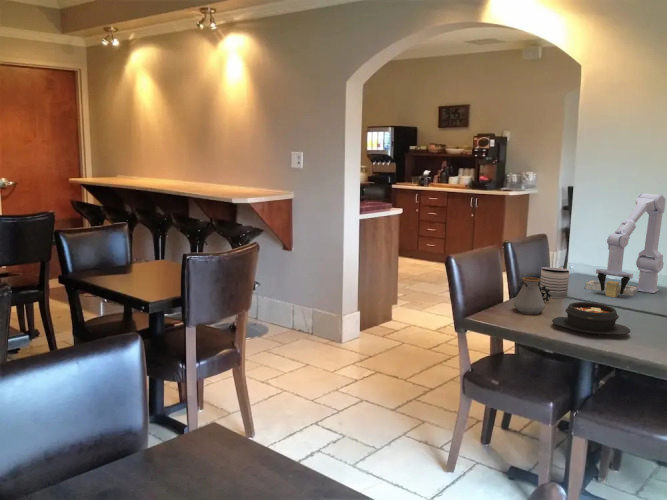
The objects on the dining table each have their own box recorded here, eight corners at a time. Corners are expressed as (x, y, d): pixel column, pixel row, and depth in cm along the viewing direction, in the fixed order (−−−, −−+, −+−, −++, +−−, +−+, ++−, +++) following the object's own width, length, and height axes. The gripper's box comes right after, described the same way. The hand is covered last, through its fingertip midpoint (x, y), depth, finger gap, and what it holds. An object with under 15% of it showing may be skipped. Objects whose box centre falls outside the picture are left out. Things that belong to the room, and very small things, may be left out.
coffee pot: (517, 306, 238) (520, 268, 236) (547, 310, 233) (550, 272, 230) (502, 318, 220) (505, 278, 218) (534, 323, 215) (538, 282, 212)
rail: (590, 285, 280) (591, 280, 279) (637, 292, 267) (638, 287, 267) (584, 288, 273) (585, 283, 272) (632, 296, 260) (633, 290, 260)
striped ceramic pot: (535, 295, 257) (538, 267, 255) (543, 290, 266) (545, 264, 264) (563, 299, 251) (565, 271, 249) (570, 294, 260) (572, 267, 258)
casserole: (548, 332, 205) (550, 308, 204) (554, 318, 222) (557, 296, 220) (629, 344, 195) (632, 319, 193) (630, 329, 211) (632, 306, 210)
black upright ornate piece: (533, 308, 237) (550, 303, 244) (535, 291, 236) (552, 287, 243) (519, 304, 242) (536, 300, 249) (520, 288, 241) (537, 284, 248)
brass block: (608, 294, 263) (609, 280, 262) (617, 295, 261) (619, 282, 260) (605, 295, 260) (606, 282, 259) (615, 297, 258) (616, 283, 257)
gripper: (594, 260, 259) (591, 290, 262) (631, 265, 250) (627, 296, 253) (599, 258, 265) (596, 288, 267) (635, 262, 256) (631, 294, 258)
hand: (612, 292), depth 260 cm, fingers open, 7 cm apart
